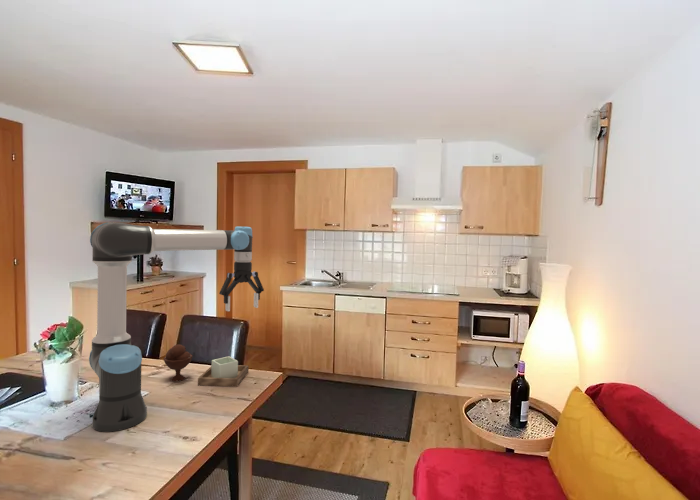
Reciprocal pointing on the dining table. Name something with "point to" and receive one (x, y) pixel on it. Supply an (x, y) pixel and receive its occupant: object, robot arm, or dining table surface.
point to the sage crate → (224, 368)
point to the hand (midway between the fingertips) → (242, 309)
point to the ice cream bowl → (177, 360)
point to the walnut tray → (231, 382)
